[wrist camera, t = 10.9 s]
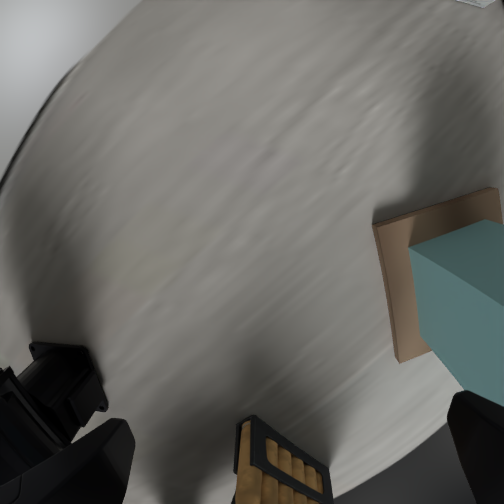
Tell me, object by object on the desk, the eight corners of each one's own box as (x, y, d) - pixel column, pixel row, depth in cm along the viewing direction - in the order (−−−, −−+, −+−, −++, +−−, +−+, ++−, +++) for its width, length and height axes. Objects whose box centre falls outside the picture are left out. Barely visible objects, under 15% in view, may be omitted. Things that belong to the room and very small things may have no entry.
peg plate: (394, 356, 21) (420, 397, 16) (371, 224, 19) (404, 242, 14) (498, 310, 20) (534, 336, 15) (489, 187, 18) (535, 194, 13)
